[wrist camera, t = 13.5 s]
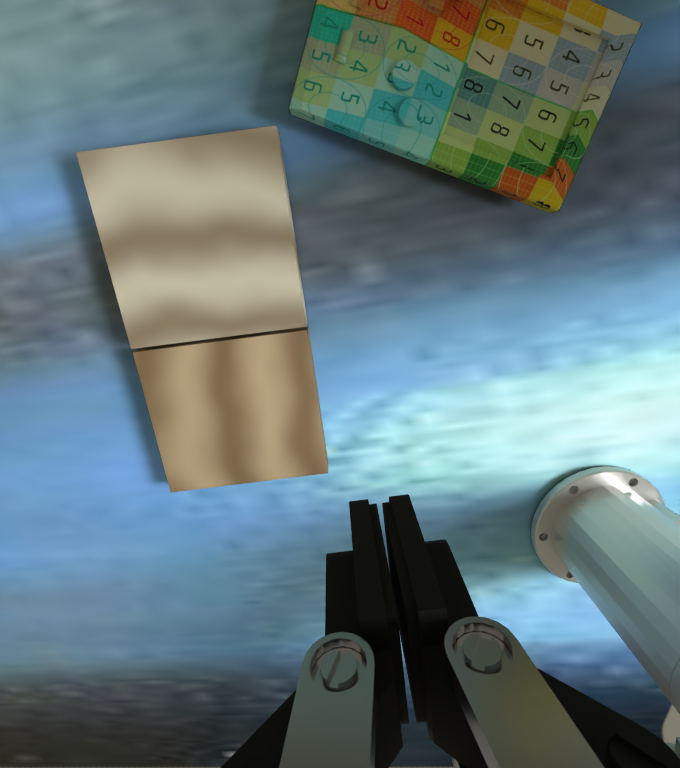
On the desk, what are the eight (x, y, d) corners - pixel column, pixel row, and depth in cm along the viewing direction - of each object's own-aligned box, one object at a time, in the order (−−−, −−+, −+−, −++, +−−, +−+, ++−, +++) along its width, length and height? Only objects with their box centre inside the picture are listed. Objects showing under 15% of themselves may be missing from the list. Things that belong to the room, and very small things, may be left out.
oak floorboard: (308, 326, 35) (306, 330, 33) (328, 462, 38) (328, 472, 37) (143, 347, 35) (132, 352, 33) (178, 480, 39) (170, 492, 37)
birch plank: (307, 322, 35) (306, 326, 33) (142, 343, 35) (131, 348, 33) (279, 133, 31) (276, 125, 29) (91, 158, 31) (76, 152, 29)
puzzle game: (345, -125, 23) (653, 15, 26) (342, -63, 28) (604, 51, 30) (286, 102, 26) (566, 209, 29) (293, 125, 31) (534, 216, 33)
